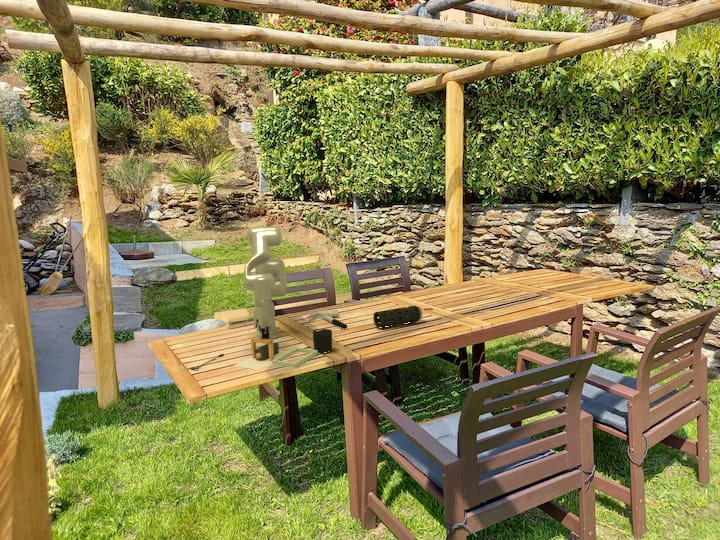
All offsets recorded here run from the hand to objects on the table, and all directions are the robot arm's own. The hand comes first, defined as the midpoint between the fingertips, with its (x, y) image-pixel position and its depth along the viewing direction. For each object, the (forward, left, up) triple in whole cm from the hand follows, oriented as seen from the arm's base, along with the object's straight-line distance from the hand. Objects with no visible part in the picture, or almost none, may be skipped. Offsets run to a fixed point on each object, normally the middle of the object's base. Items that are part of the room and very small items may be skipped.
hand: (265, 341), depth 222 cm
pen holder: (-19, +20, -9) cm, 29 cm away
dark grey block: (-1, 0, -8) cm, 8 cm away
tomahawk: (+14, -21, -9) cm, 27 cm away
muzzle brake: (-75, +38, -9) cm, 84 cm away
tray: (-3, +14, -9) cm, 17 cm away
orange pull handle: (+3, 0, -8) cm, 8 cm away
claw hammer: (-65, -1, -9) cm, 65 cm away
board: (+2, 0, -9) cm, 9 cm away
